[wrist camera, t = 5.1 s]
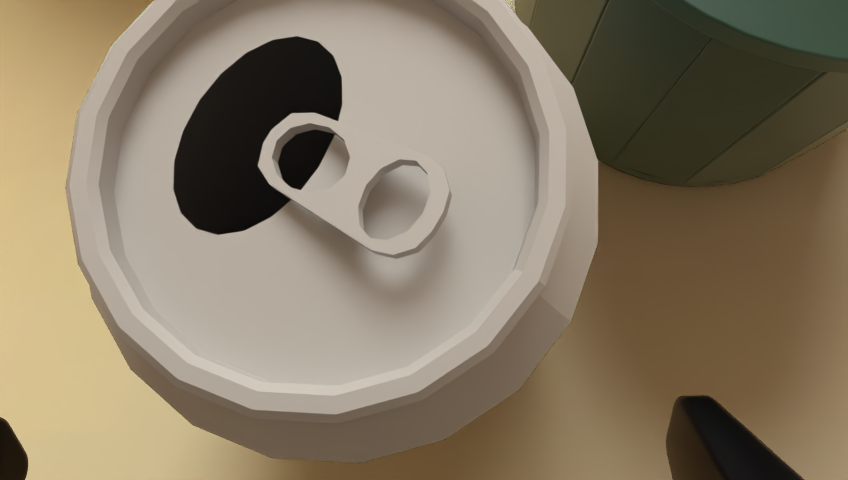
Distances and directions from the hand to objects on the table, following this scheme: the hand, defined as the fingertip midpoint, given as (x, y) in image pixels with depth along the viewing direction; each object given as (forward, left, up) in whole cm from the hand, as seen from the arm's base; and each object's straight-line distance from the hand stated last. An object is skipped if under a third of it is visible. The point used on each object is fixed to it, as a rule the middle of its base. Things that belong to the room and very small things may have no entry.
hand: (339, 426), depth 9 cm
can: (0, +3, -10) cm, 11 cm away
